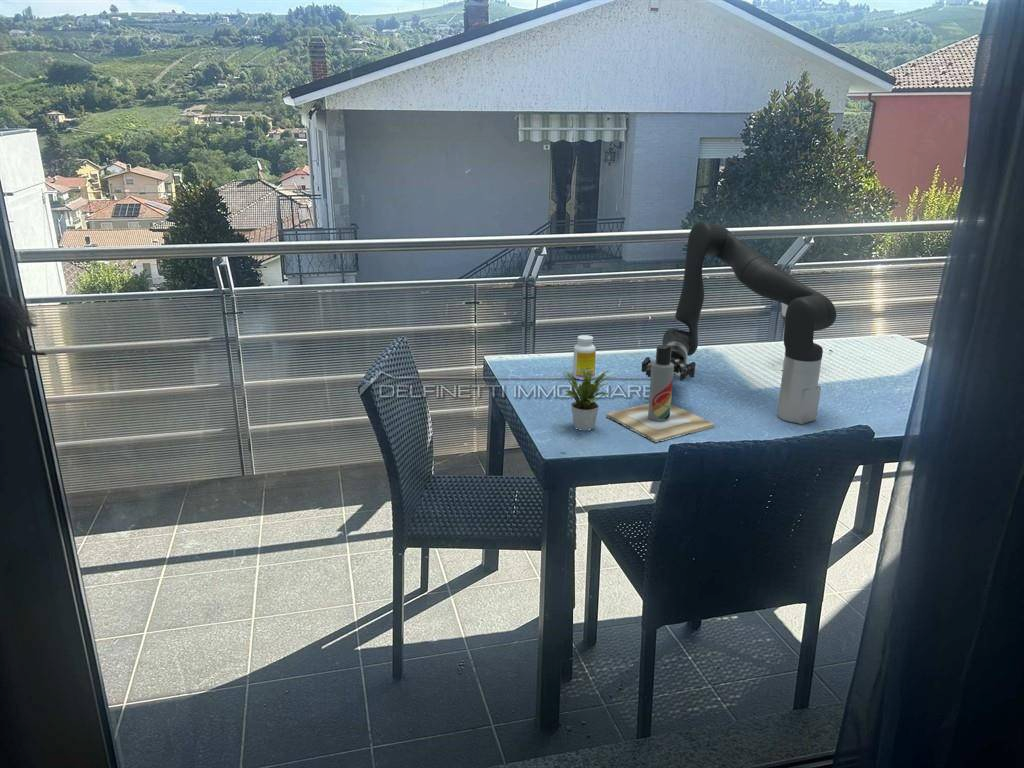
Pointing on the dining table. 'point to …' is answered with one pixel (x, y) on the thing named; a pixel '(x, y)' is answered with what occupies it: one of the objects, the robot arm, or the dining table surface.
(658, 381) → the lotion bottle
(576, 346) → the supplement bottle
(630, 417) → the dock
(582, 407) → the house plant
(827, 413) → the dining table surface
